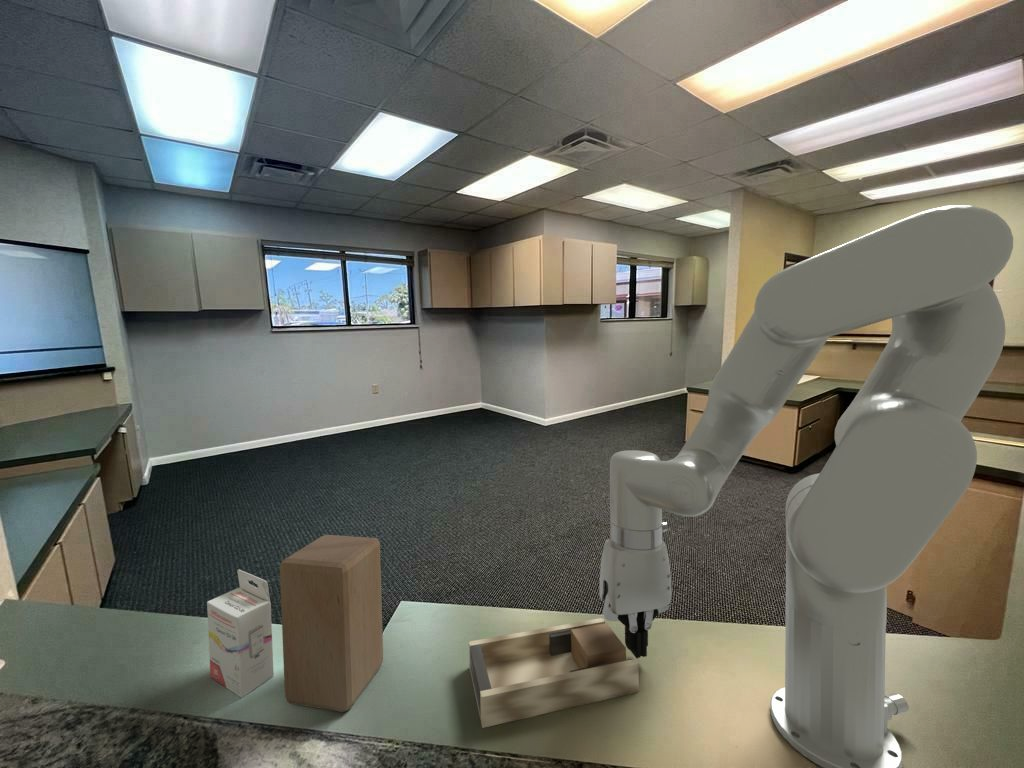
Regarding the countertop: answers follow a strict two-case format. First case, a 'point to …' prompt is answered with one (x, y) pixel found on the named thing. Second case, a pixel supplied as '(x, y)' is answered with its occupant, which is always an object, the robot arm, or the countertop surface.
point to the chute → (541, 675)
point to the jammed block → (596, 646)
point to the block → (331, 621)
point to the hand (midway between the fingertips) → (636, 651)
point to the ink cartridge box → (241, 636)
